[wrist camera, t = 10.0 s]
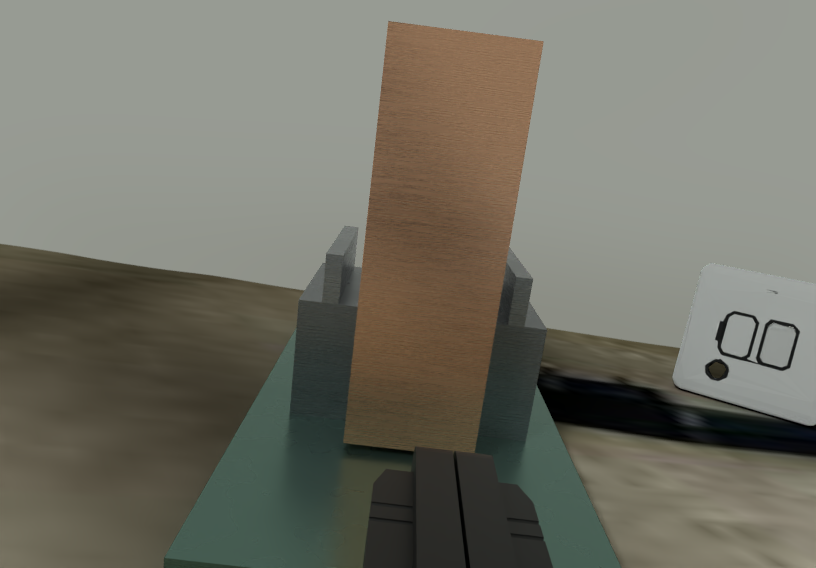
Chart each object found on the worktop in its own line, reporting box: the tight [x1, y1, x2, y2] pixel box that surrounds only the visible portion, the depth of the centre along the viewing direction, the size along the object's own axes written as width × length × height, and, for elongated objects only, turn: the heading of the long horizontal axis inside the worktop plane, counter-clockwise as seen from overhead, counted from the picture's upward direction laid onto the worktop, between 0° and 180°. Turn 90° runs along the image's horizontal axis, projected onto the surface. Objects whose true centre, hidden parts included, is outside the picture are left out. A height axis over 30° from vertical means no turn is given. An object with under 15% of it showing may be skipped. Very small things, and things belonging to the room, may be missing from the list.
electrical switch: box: [673, 263, 816, 426], centre depth 44 cm, size 9×5×9 cm, turn 59°
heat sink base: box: [164, 226, 621, 568], centre depth 33 cm, size 16×28×13 cm, turn 179°
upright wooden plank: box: [343, 21, 543, 453], centre depth 32 cm, size 6×12×18 cm, turn 179°
